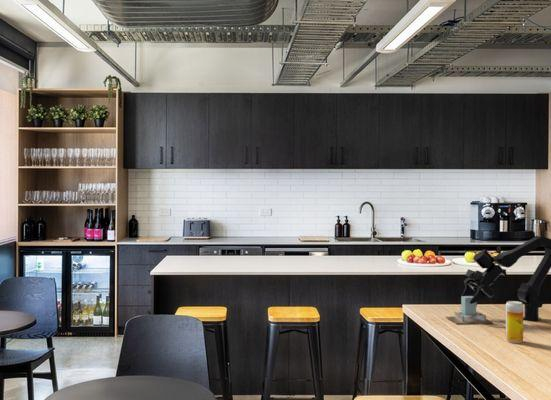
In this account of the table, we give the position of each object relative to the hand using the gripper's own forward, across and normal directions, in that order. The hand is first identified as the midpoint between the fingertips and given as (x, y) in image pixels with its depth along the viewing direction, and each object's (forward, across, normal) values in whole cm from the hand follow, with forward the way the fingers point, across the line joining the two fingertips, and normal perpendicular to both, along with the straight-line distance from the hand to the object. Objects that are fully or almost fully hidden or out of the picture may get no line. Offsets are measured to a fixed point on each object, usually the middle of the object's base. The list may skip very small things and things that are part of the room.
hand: (465, 301), depth 234 cm
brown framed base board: (+5, 0, +7) cm, 9 cm away
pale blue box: (+5, 0, +7) cm, 8 cm away
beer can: (+4, +33, +9) cm, 35 cm away
